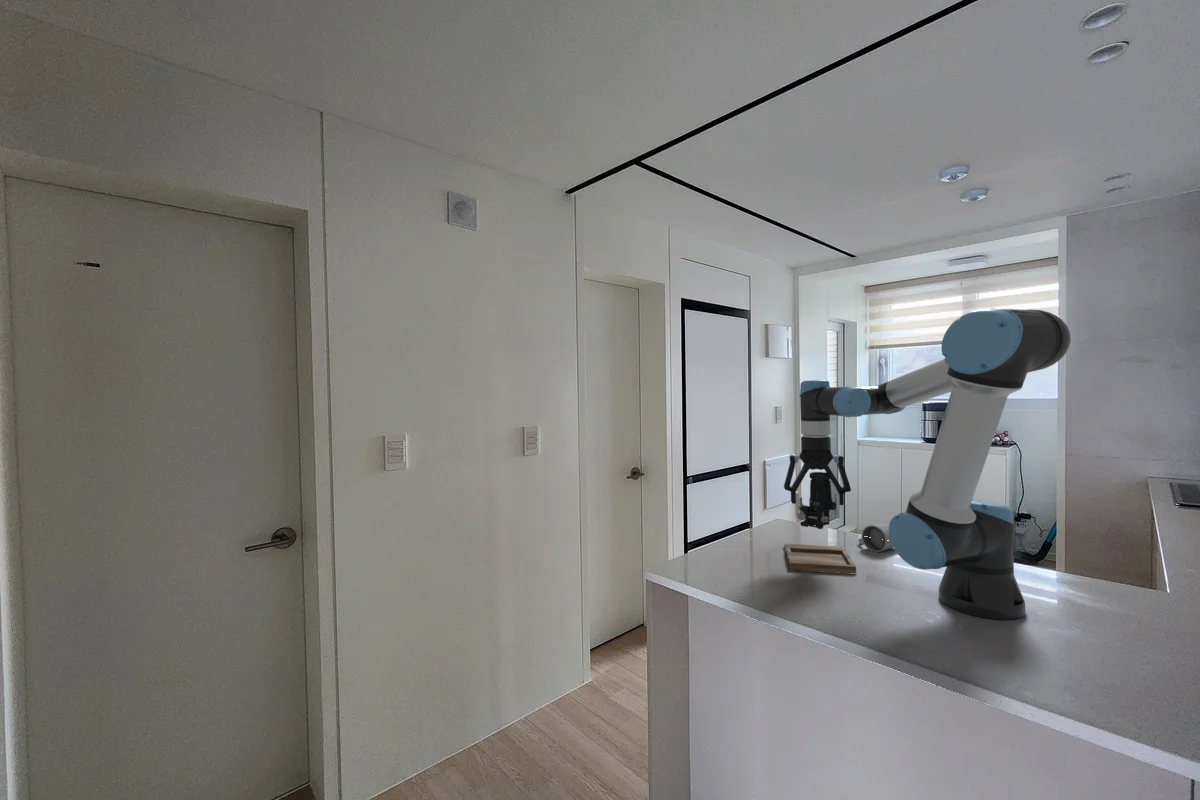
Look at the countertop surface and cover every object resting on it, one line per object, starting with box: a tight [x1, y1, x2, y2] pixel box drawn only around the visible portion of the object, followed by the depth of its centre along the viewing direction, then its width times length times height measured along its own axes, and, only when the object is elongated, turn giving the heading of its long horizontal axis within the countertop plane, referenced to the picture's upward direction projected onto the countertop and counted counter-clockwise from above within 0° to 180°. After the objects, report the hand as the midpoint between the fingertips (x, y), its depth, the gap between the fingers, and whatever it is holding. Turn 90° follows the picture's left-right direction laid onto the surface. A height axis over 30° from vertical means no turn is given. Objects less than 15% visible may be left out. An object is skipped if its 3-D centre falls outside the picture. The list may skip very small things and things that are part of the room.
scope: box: [796, 471, 836, 530], centre depth 137 cm, size 8×14×10 cm
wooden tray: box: [784, 543, 857, 574], centre depth 140 cm, size 20×16×2 cm
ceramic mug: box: [857, 523, 894, 553], centre depth 149 cm, size 11×8×8 cm
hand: (817, 515), depth 137 cm, fingers closed on scope, 10 cm apart
